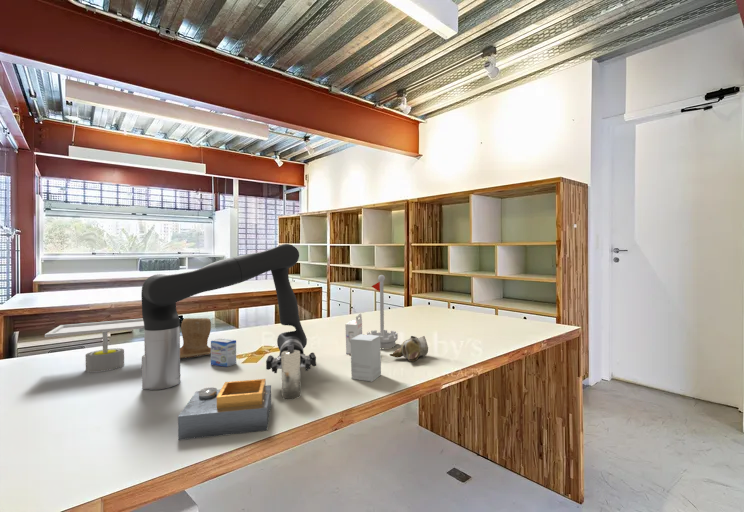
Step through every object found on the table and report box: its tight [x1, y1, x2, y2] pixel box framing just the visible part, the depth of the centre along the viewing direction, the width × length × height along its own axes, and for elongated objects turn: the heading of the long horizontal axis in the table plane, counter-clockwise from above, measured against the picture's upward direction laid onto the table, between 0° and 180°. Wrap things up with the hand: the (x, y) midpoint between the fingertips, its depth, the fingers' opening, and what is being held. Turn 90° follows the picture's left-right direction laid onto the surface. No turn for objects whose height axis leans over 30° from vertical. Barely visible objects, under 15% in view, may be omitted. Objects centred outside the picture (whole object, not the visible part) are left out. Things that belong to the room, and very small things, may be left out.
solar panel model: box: [44, 318, 144, 373], centre depth 125 cm, size 28×17×15 cm, turn 118°
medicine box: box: [210, 338, 237, 368], centre depth 127 cm, size 8×4×9 cm, turn 68°
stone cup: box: [180, 317, 212, 360], centre depth 138 cm, size 15×12×15 cm
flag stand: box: [366, 274, 399, 349], centre depth 151 cm, size 13×13×30 cm
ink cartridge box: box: [345, 313, 363, 355], centre depth 142 cm, size 9×5×15 cm, turn 168°
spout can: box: [281, 344, 302, 400], centre depth 98 cm, size 5×5×14 cm
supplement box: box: [350, 333, 382, 382], centre depth 112 cm, size 7×7×13 cm
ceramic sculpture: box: [389, 335, 429, 362], centre depth 131 cm, size 11×9×15 cm
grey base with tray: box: [177, 378, 272, 441], centre depth 84 cm, size 18×14×8 cm
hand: (291, 368), depth 99 cm, fingers open, 8 cm apart
